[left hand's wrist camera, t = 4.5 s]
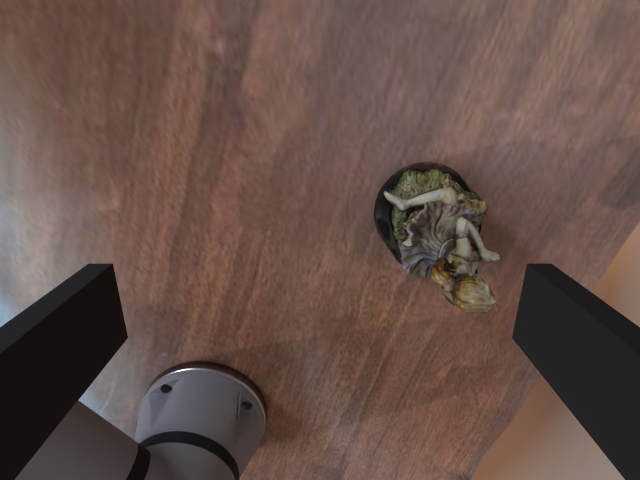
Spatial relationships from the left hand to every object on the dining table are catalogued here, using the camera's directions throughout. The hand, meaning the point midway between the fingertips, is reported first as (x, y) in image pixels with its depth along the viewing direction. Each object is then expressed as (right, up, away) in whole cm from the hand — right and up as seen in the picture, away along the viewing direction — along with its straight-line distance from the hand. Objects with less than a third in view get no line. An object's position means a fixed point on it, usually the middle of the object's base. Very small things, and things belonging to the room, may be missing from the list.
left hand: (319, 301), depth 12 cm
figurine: (+11, +4, +28) cm, 30 cm away
